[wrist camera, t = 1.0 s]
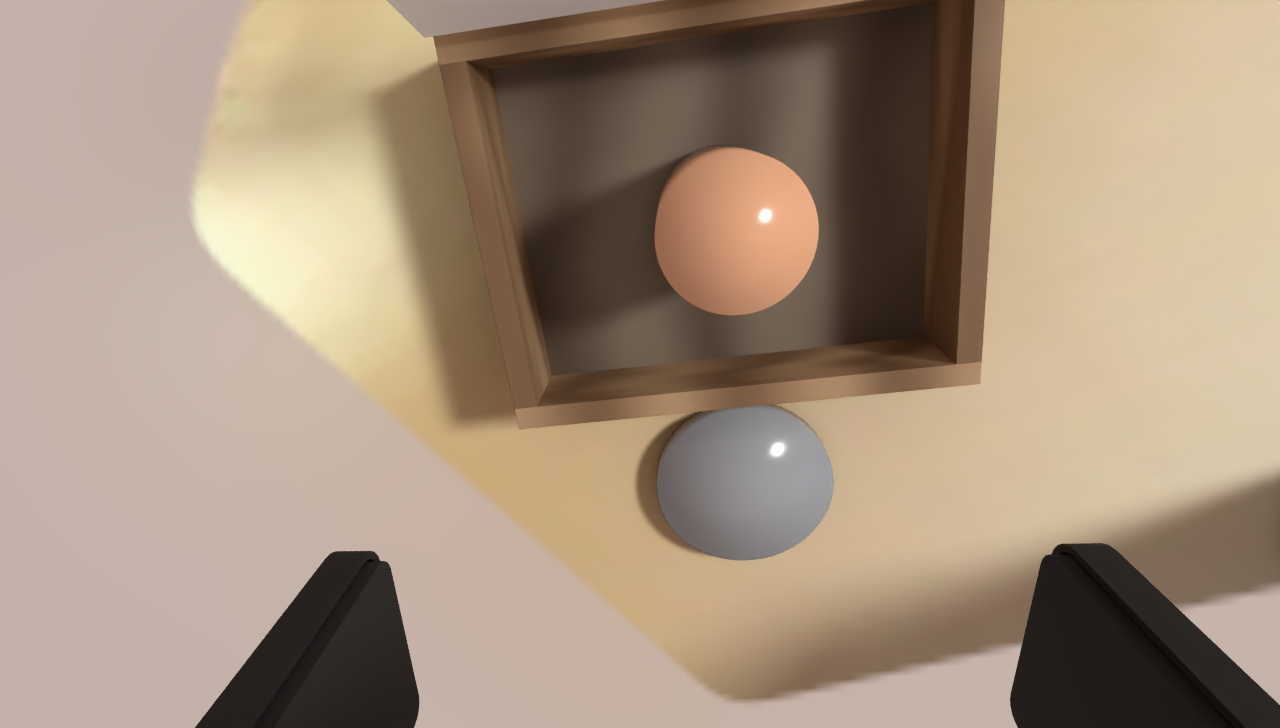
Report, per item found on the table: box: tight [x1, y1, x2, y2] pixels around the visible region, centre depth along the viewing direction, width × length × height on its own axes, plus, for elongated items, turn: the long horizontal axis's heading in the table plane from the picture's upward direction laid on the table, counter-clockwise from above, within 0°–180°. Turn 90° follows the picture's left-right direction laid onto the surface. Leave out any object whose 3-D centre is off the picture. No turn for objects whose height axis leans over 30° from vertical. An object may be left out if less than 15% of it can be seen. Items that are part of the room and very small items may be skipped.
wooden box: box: [433, 0, 1005, 429], centre depth 27 cm, size 20×16×4 cm
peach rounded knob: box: [655, 144, 819, 315], centre depth 25 cm, size 6×6×7 cm
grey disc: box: [657, 404, 834, 560], centre depth 33 cm, size 9×9×1 cm
